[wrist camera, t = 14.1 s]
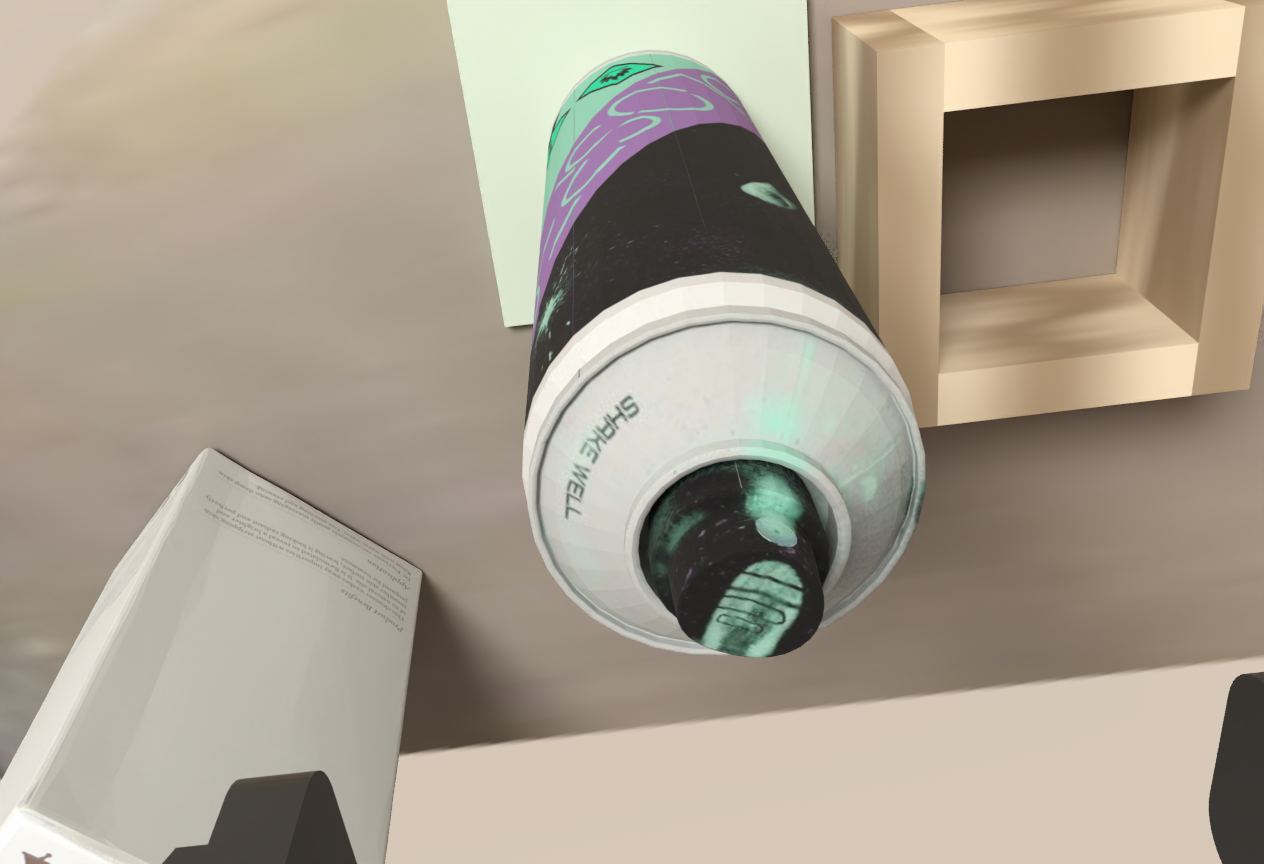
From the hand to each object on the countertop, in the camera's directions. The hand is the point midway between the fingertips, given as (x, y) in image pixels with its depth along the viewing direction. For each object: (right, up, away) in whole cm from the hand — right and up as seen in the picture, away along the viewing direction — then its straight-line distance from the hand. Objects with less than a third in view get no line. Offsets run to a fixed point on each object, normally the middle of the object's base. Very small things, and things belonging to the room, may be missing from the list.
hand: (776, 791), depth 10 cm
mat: (-1, +11, +21) cm, 23 cm away
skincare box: (-13, -1, +27) cm, 29 cm away
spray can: (-1, +11, +20) cm, 23 cm away
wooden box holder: (+9, +10, +21) cm, 25 cm away
